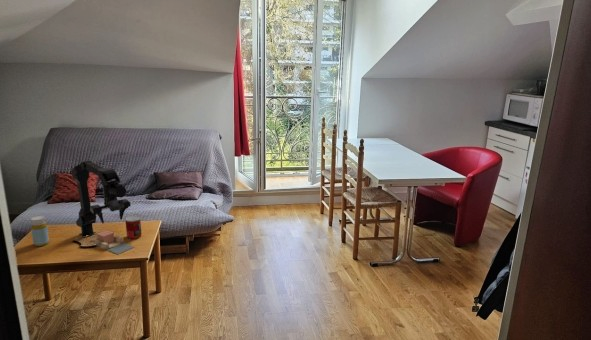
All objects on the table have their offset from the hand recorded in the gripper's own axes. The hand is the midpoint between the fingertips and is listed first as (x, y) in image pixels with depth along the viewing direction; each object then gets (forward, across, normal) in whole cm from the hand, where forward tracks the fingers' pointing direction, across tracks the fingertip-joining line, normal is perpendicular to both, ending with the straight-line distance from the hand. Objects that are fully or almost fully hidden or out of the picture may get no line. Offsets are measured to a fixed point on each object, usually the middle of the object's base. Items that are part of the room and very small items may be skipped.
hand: (112, 221), depth 216 cm
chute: (+14, -2, +3) cm, 14 cm away
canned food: (+14, +12, +4) cm, 19 cm away
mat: (+14, +1, -7) cm, 15 cm away
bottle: (+15, -29, +26) cm, 41 cm away
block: (+14, -2, +5) cm, 15 cm away
